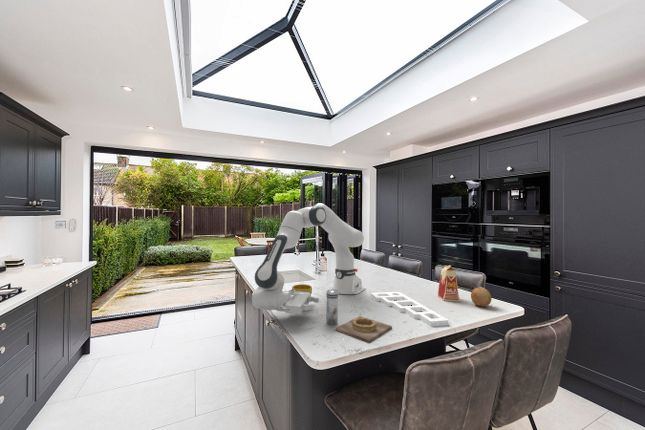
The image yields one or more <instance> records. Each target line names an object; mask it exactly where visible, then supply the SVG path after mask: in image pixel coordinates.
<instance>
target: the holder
mask: <svg viewBox="0 0 645 430" xmlns="http://www.w3.org/2000/svg"><path fill="white" fill-rule="evenodd" d="M370 297H371V298H372V299H373V300H374V301H375V302H381V303H382V304H384V305H385V306H386V307H390V308H391V306H392V307H393V309H395V310H397V311H398V312H399V313H405V314H407V315H408V316H409V317H410V318H412V319H414V320H420V321H421V322H423V323H424V324H426V325H427V326H429V327H431V326H432V327H441V326H442V327H443V326H449V319H448V318H446V317H444V315H441V314H439V313H438V312H436V311H434V310H431V308H428V307H427V306H425V305H424V304H422V303H419V302H418V301H416V300H415V299H413V298H411V297H409V296H407V295H406V294H404V293H402V292H400V291H390V292H387V291H385V292H371V293H370ZM394 300H397V301H394ZM408 305H409V306H408ZM411 305H412V306H411ZM421 311H422V312H421Z"/></svg>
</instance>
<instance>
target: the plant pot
mask: <svg viewBox="0 0 645 430" xmlns="http://www.w3.org/2000/svg"><path fill="white" fill-rule="evenodd" d="M291 290H295V292H296V291H302V292H309V293H311V295H312V294H313V286H312V285H311V284H302V283H300V284H295V285H293V286H292V287H291ZM308 305H310V302H309V303H308Z"/></svg>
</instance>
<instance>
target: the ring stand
mask: <svg viewBox="0 0 645 430" xmlns="http://www.w3.org/2000/svg"><path fill="white" fill-rule="evenodd" d="M392 329H393V326H392V325H390V324H387V323H384V322H380V321H377V320H374V319H371V318H368V317H364V316H357V317H355V318H353V319H352V320H349V321H347V322H345V323H343V324H340V325H339V326H337V327H335V329H334V330H335V331H337V332H339V333H341V334H344V335H347V336H351V337H353V338H355V339H358V340H360V341H364V342H366V343H369V344H370V343H371V342H373V341H374V340H376V339H377V338H379V337H381V336H382V335H384V334H385V333H388V331H390V330H392Z"/></svg>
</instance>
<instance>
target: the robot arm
mask: <svg viewBox="0 0 645 430" xmlns="http://www.w3.org/2000/svg"><path fill="white" fill-rule="evenodd" d="M319 226H320V227H321V228H322V229H323V230H324V231H325V232H327V233H328V241H329V242H330V243H331V245H332V246H333V250H334V253H335V270H334V273H335V275H334V277H333V286H332V287H331V289H333V290H338V295H339V294H340V295H358V294H360V293H362V292H364V291H365V290H366V286H364V285H363V283H362V279H361V277H359V276H358V275H357V274H356V273H358V271H359V270H358V268H356V267H355V257H354V255H353V252H351V251H350V248H357V247H360V246H362V244H363V242H364V234H363V232H362V231H361V230H358V229H356V228H354V227H353V226H351V225H350V224H349V223H347V222H345V221H343V220H342V219H341V218H340V217H339V216H338V215H337V214H336V213H335V212H334V210H333V209H331V208H330V207H328V206H327V205H326V204H324V203H321V202H318V203H316V204H315V205H313V206H306V207H303V208H299V209H295V210H291V211H288V212H287V213H286V214H285V216H284V217H283V220H282V222H281V224H280V226H279V228H278V229H279V230H278V232H277V234H276V236H275V238H274V239H273V241H272V243H271V245H270V247H269V250H268V251H267V253H266V255H265V258H264V260H263V262H262V263H261V264H260V265H259V267H258V268H257V269H256V271H255V273H254V282H255V284H256V285H257V286H258V287H257V288H256V289H254V291H253V292H252V294H251V304H252V305H253V307H254V308H256V309H257V310H263V311H277V312H284V313H287V314H291V315H292V314H293V315H301V314H302V313H303V312H304V311H313V310H315V307H316V305H315V304H316V303H319V302H320V298H319V297H315V296H312V294H311V293H309V292H302V291H296V292H295V290H292V289H290V290H283V289H284V285H285V278H284V276H283V274H281V272H279V271H278V265H279V263H280V261H281V258H282V255H283V253H284V252H285V250H287V249H292V248H295V247H296V245H297V243H298V242H299V240H300V237H301V234H302V231H303V228H304V229H305V228H306V229H307V228H312V227H319ZM311 302H313V303H315V304H310V303H311ZM308 303H309V304H308Z"/></svg>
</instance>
